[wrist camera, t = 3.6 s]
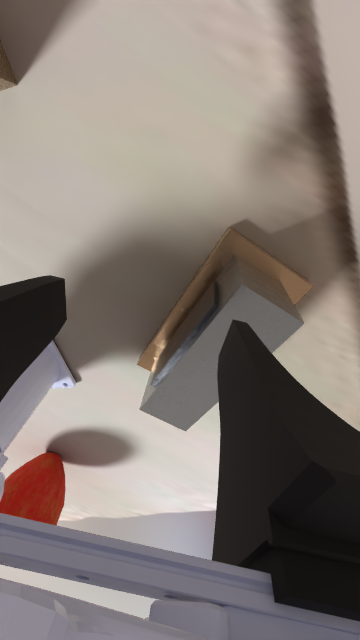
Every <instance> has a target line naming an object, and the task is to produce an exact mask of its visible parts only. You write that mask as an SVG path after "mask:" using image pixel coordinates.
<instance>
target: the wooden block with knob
mask: <svg viewBox="0 0 360 640" xmlns="http://www.w3.org/2000/svg"><path fill="white" fill-rule="evenodd" d="M16 85H17V82H16V80H15V77H14V75H13V72H12V69H11V67H10V64H9V62H8V59H7V56H6V54H5V51H4V49H3V46H2V43H1V41H0V90H4V89H7V88H10V87H13V86H16Z"/></svg>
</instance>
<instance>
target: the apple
mask: <svg viewBox="0 0 360 640" xmlns="http://www.w3.org/2000/svg"><path fill="white" fill-rule="evenodd" d="M64 498H65V473H64V467H63V463H62V460H61V457H60V456H59V455H58V454H56V453H53V452H48V453H44V454H41V455H39V456H37V457H36V458H34V459H32V460H31V461H29V462H27V463H26V464H24V465H23V466H21V467H20V468H19V469H17V470H16V471H14V472H13V473H12V474H11V475H10V476H9V477H8V478H7V479H6V480H5V483H4V492H3V495H2V498H1V501H0V513H3V514H7V515H12V516H16V517H20V518H25V519H29V520H34V521H38V522H43V523H47V524H52V525H57V522H58V519H59V517H60V514H61V511H62V508H63V506H64Z"/></svg>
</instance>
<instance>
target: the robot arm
mask: <svg viewBox="0 0 360 640" xmlns="http://www.w3.org/2000/svg"><path fill="white" fill-rule="evenodd" d="M66 320H67V317H66V297H65V279H63V278H59V277H55V276H51V275H50V276H42V277H37V278H33V279H28V280H24V281H20V282H16V283H12V284H8V285H3V286H0V470H1V468H2V467H3V465H4V464H5V463H6V461H7V460H8V458H7V457H6V456H5V455H3V453H4V452H5V450H6V449H7V447H8V446H9V445H10V443H11V442H12V441H13V439H14V438H15V436H16V435H17V434H18V432H19V431H20V430H21V428H22V427H23V425H24V424H25V423H26V421H27V420H28V419H29V417H30V416H31V414H32V413H33V412H34V410H35V409H36V408H37V406H38V405H39V403H40V402H41V401H42V399H43V398H44V397H45V395H46V394H47V392H48V391H49V390H50V389H51V388H72V387H74V386H75V385H76V382H75V380H74V378H73V376H72V374H71V372H70V371H69V369H68V367H67V365H66V363H65V361H64V360H63V358H62V356H61V354H60V352H59V350H58V348H57V347H56V345H55V343H54V341H53V339H54V338H55V337H56V335H57V334H58V332H59V331H60V329H61V328H62V326H63V324H64V323H65V321H66ZM217 381H218V397H219V411H220V432H221V436H220V462H219V480H218V496H217V510H216V522H215V534H214V545H213V555H212V560H207V559H202V558H198V557H194V556H189V555H185V554H181V553H176V552H172V551H167V550H163V549H158V548H154V547H149V546H145V545H141V544H136V543H131V542H127V541H122V540H118V539H114V538H109V537H105V536H100V535H96V534H92V533H87V532H83V531H78V530H73V529H69V528H65V527H60V526H56V525H52V524H47V523H43V522H38V521H34V520H29V519H25V518H20V517H16V516H12V515H7V514H3V513H0V564H1V565H5V566H10V567H14V568H19V569H23V570H28V571H33V572H37V573H42V574H46V575H51V576H55V577H60V578H64V579H69V580H73V581H78V582H83V583H87V584H91V585H96V586H100V587H105V588H109V589H114V590H118V591H123V592H127V593H132V594H136V595H141V596H145V597H150V598H155V599H159V600H156V601H154V602H153V604H152V605H151V608H150V615H149V617H148V618H146V619H143V618H139V617H136V616H133V615H129V614H126V613H123V612H119V611H116V610H113V609H109V608H106V607H103V606H99V605H96V604H92V603H89V602H86V601H82V600H79V599H76V598H72V597H68V596H65V595H61V594H58V593H54V592H51V591H47V590H44V589H40V588H37V587H33V586H29V585H25V584H21V583H17V582H13V581H9V580H5V579H1V578H0V640H360V432H359V431H358V430H356V429H355V428H353V427H352V426H351V425H349V424H348V423H347V422H345V421H344V420H343V419H341V418H340V417H338V416H337V415H336V414H335V413H333V412H332V411H331V410H330V409H328V408H327V407H326V406H325V405H324V404H322V403H321V402H320V401H319V400H317V399H316V398H315V397H314V396H313V395H312V394H311V393H309V392H308V391H307V390H306V389H305V388H304V387H303V386H302V385H301V384H300V383H299V382H298V381H297V380H296V379H295V378H294V377H293V376H292V375H291V374H290V373H289V372H288V371H287V370H286V369H285V368H284V367H283V366H282V365H281V364H280V363H279V361H278V360H277V359H276V358H275V357H274V356H273V354H272V353H271V352H270V351H269V350H268V348H267V347H266V346H265V345H264V343H263V342H262V341H261V340H260V338H259V337H258V336H257V334H256V333H255V332H254V331H253V329H252V328H251V327H250V326H249V324H248V323H246V322H242V321H238V320H234V319H233V320H232V323H231V325H230V328H229V330H228V333H227V335H226V338H225V341H224V343H223V346H222V348H221V351H220V353H219V357H218V371H217ZM4 483H5V475H4V474H3V473H2V472H0V501H1V498H2V495H3V492H4ZM162 600H163V601H162Z"/></svg>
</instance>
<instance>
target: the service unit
mask: <svg viewBox="0 0 360 640" xmlns="http://www.w3.org/2000/svg"><path fill="white" fill-rule="evenodd" d="M312 287H313V286H312V284H311V283H310V282H309V281H308V280H307V279H305V278H304V277H302V276H301V275H299V274H298V273H296V272H295V271H293V270H292V269H290V268H289V267H287V266H286V265H285V264H283V263H282V262H280V261H279V260H277V259H276V258H274V257H273V256H271V255H270V254H268V253H267V252H265V251H264V250H262V249H261V248H259V247H258V246H256V245H255V244H254V243H252V242H251V241H249V240H248V239H246V238H245V237H243V236H242V235H240V234H239V233H237V232H236V231H234V230H233V229H231V228H230V227H229V228H228V229H227V230H226V232H225V233H224V235H223V236H222V238H221V239H220V241H219V242H218V244H217V245H216V247H215V248H214V249H213V251H212V252H211V254H210V255H209V257H208V258H207V260H206V261H205V263H204V264H203V266H202V267H201V269H200V270H199V271H198V273H197V274H196V276H195V277H194V279H193V280H192V282H191V283H190V285H189V286H188V288H187V289H186V290H185V292H184V293H183V295H182V296H181V298H180V299H179V301H178V302H177V304H176V305H175V307H174V308H173V309H172V311H171V312H170V314H169V315H168V317H167V318H166V320H165V321H164V323H163V324H162V326H161V327H160V328H159V330H158V331H157V333H156V334H155V336H154V337H153V339H152V340H151V342H150V343H149V345H148V346H147V348H146V349H145V350H144V352H143V353H142V355H141V356H140V358H139V361H138V363H137V365H139V366H141V367H143V368H145V369H147V370H149V371H151V373H150V377H149V380H148V383H147V387H146V390H145V393H144V396H143V400H142V403H141V406H140V410H141V411H143V412H146V413H148V414H150V415H152V416H154V417H156V418H158V419H160V420H163V421H165V422H167V423H169V424H171V425H173V426H175V427H177V428H180V429H182V430H184V431H187V430H188V429H189V428H190V427H191V426H192V425H193V424H194V423H195V422H196V421H198V420H199V419H200V418H201V417H202V416H203V415H204V414H205V413H206V412H207V411H209V410H210V409H211V408H212V407H213V406H214V405H215V404H216V403H217V402H218V401H219V397H218V381H217V371H218V357H219V353H220V351H221V348H222V346H223V343H224V341H225V338H226V335H227V333H228V330H229V328H230V325H231V323H232V320H233V319H234V320H238V321H242V322H246V323H248V324H249V326H250V327H251V328H252V329H253V331H254V332H255V333H256V334H257V336H258V337H259V338H260V340H261V341H262V342H263V343H264V345H265V346H266V347H267V348H268V350H269V351H270V352H271V353H272V352H274V351H275V350H276V349H277V348H278V347H279V346H280V345H281V344H282V343H283V342H285V341H286V340H287V339H288V338H289V337H290V336H291V335H292V334H293V333H294V332H296V331H297V330H298V329H299V328H300V327H301V326H302V325H303V324H304V322H303V320H302V318H301V317H300V315H299V313H298V311H297V309H296V308H295V306H294V305H295V304H296V303H297V302H298V301H299V300H300V299H301V298H302V297H303V296H304V295H305V294H306V293H307V292H308V291H309V290H310V289H311V288H312Z"/></svg>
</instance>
